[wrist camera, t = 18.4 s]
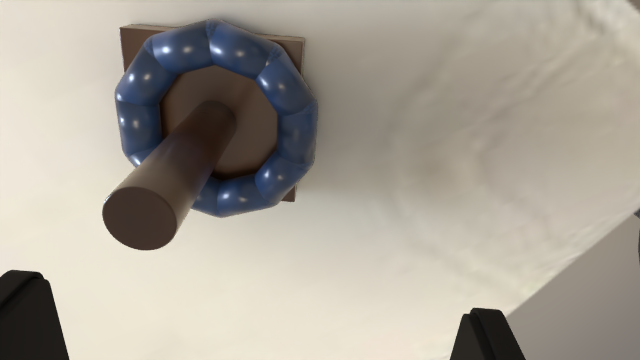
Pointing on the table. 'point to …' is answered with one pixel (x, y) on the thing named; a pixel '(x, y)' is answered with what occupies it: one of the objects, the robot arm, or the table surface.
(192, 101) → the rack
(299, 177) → the ring
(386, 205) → the table surface
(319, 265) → the table surface
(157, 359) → the table surface
